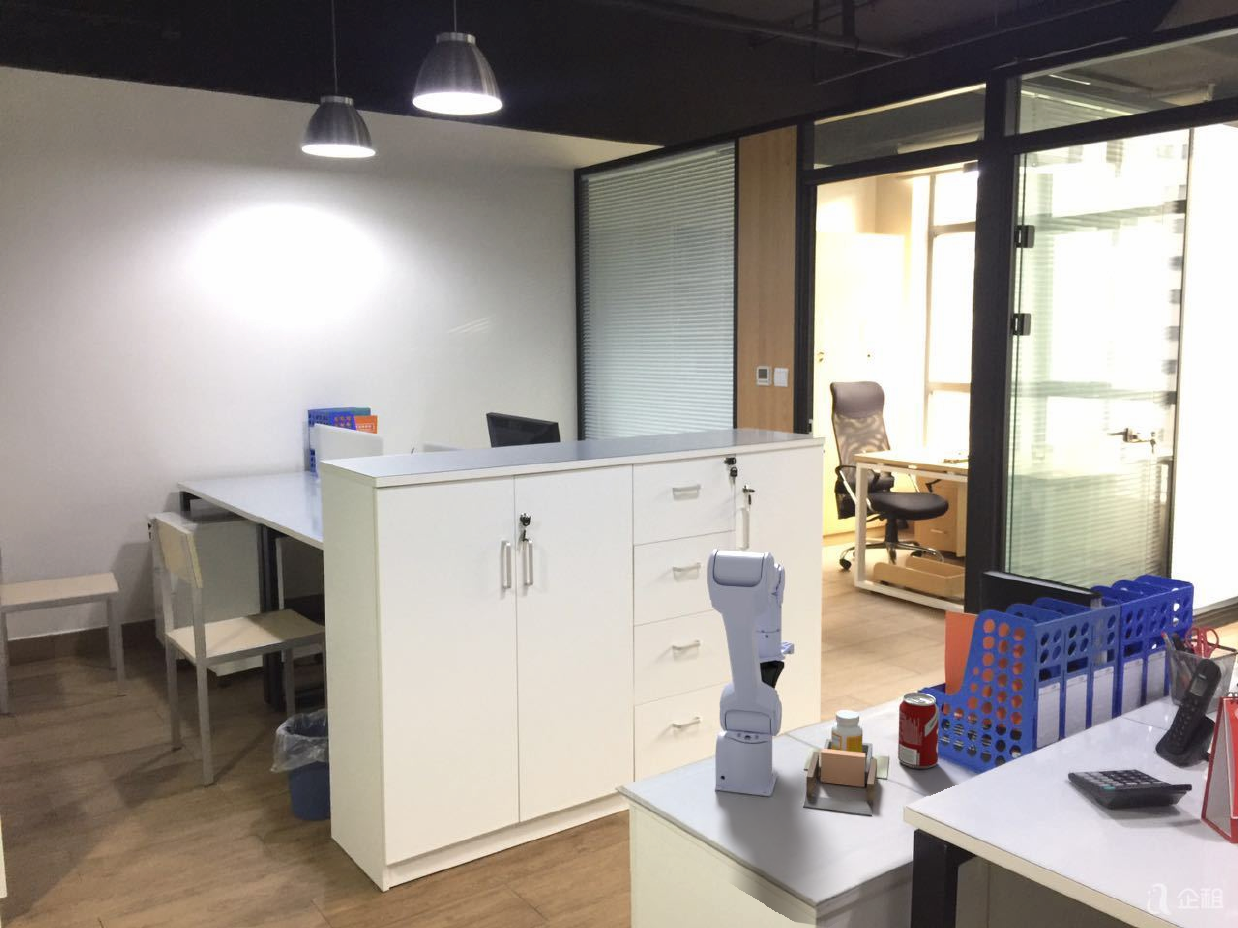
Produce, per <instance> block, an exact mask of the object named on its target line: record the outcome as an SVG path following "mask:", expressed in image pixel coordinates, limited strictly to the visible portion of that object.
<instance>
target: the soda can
mask: <svg viewBox="0 0 1238 928" xmlns="http://www.w3.org/2000/svg"><path fill="white" fill-rule="evenodd" d="M902 699H903V700H902V702H900V704H899V705H898V706H899V708H898V710H899V711H898V740H897V741H898V746H897V747H898V750H897V752H898V753H897V758H898V760H899V762H900V763H902V764H903V765H905V766H907V767H909V768H912V769H914V770H915V769H917V770H926V769H929V768H933V767H935V766H936V765H937V764H938V762H939V761H938V760H939V734H940V733H939V731H940V729H939V728H940V727H939V726H940V709H939V706H938V705H937V704H936V703H937V700H936V698H935V696H933V695H931V694H927V693H923V692H910V693H909V692H908V693H906V694H904V695H903V696H902Z"/></svg>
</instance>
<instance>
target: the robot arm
mask: <svg viewBox="0 0 1238 928" xmlns="http://www.w3.org/2000/svg"><path fill="white" fill-rule="evenodd" d="M706 567H707V569H706V573H707V574H706V581H707V591H708V596H709V600H710V603H711V607H712V608H713V609H714V610H716V611H717V612H718V613H720V615H721V616H722V620H723V625H724V629H725V634H726V641H727V646H728V647H727V649H728V655H729V662H730V669H731V677H732V681H731V682H729V683H727V684H726V685H725V686H724V687H723V689H722V692H721V694H720V699H719V725H720V727H721V728H722V730H719V731H718V733H717V738H716V744H715V753H714V755H715V756H714V757H715V761H714V762H715V763H714V764H715V785H714V789H715V791H716V790H717V791H724V792H730V793H738V794H739V793H740V794H749V795H757V796H764V797H771V796H772V794H773V791H774V788H775V785H776V782H777V779H778V774H777V773H773V737H776V736H777V735H778V734H779V733H780V732H781V728H782V721H783V720H782V717H783V705H782V704H783V703H782V701H781V700H780V695H779V694H778V691H777V689H776V686H777V682H778V680H779V678H780V675H781V674H782V672H783V670H784V669H785V662H784V661H783V660H786V655H794V654H795V643H794V642H790V641H782V617H783V616H782V612H783V611H782V605H783V603H784V592H785V586H786V569H785V567H784V566H781V564H780V563H775V558H774V556H773V555H772V553H771V552H768V551H767V552H759V551H758V552H757V551H739V550H738V551H737V550H719V549H713V550H712V551H711V553H710V554H709V556H708V559H707V566H706Z"/></svg>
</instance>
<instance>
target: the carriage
mask: <svg viewBox="0 0 1238 928" xmlns="http://www.w3.org/2000/svg"><path fill="white" fill-rule="evenodd" d="M821 749H822V751H821V761H820V765H819V774H818V778H819V779H820V782H821V783H828V784H837V785H844V786H853V787H861V788H862V787H863V788H864V787H865V786H866V785H865V784H867V782H868V776H869V769H870V763H871V758H873V743H869V742H862V753H858V752H848V751H839V750H831V738H826V739H825V742H824V746H823V748H821Z"/></svg>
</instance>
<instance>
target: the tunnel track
mask: <svg viewBox="0 0 1238 928" xmlns="http://www.w3.org/2000/svg"><path fill="white" fill-rule="evenodd" d="M822 749H823V748H816V747H810V748H809V750H808V754H807V758H806V761H805V764H804V767H803V770H804V771H807V774H806V777H805V780H806V781H805V784H806V786H805V787H806V790H805V792H806V793H805V800H804V801H803V806H802V807H803V809H811V810H812V809H814V810H821V811H830V812H837V813H845V814H852V815H853V814H854V815H861V816H869V817H872V816H873V808H874V802H875V801H874V800H875V795H876V786H877V779H883V780H887V777H888V769H889V768H888V767H889V760H890V756H888V755H881V754H880V755H879V754H874V757H872V758H871V763H870V769H869V776H868V782H867V783H866V784H867V785H866V786H867V787H866V802H865V801H858V800H849V799H840V798H839V799H838V798H832V797H825V796H824V797H823V796H815V795H814V792H815V788H816V784H817V781H818V778H819V765H820V761H821V751H822Z"/></svg>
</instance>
